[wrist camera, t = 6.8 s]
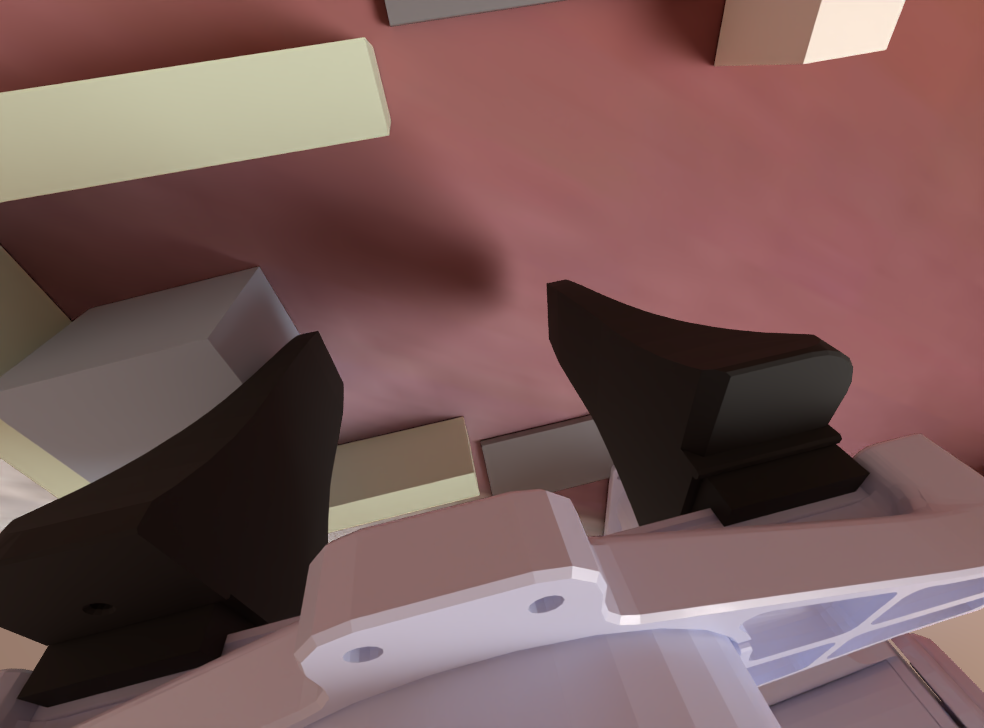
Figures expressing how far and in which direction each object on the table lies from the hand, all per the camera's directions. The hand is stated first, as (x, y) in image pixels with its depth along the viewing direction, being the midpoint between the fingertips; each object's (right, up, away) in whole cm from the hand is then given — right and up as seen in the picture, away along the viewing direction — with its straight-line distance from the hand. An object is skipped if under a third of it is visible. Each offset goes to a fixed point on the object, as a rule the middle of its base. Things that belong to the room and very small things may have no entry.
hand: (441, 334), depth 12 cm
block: (-7, -1, +1) cm, 7 cm away
